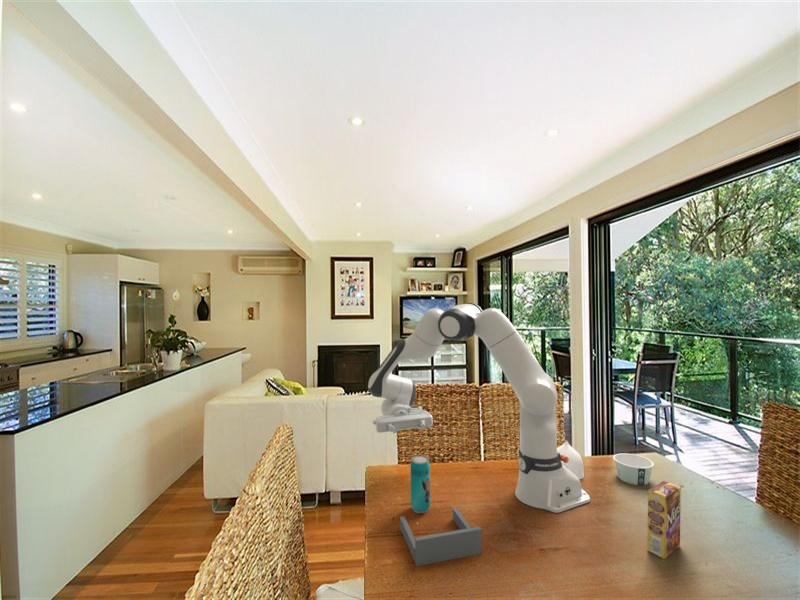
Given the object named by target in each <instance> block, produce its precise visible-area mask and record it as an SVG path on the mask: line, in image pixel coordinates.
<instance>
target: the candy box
mask: <svg viewBox="0 0 800 600" xmlns="http://www.w3.org/2000/svg"><path fill="white" fill-rule="evenodd" d="M647 491H648V492H647V530H646V531H647V533H646V534H647V538H646V539H647V542H646V550H647V552H650V553H651V554H654V555H656V556H657V557H659V558H661V559H663V560H665V559H667V557H669V556H670V555H671V554H672V553H673V552H675V551H676V550H677V549H678V548H679V546H680V547H681V500H682V499H681V498H682V497H681V495H682V494H681V493H682V487H681V486H680V485H677V484H674V483H672V482H668V481H665V480H663V481H661V482H660V483H658V484H656V485H654V486H653V487H652V488H649V489H648V490H647Z"/></svg>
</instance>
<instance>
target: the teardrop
mask: <svg viewBox="0 0 800 600" xmlns="http://www.w3.org/2000/svg"><path fill="white" fill-rule="evenodd" d="M557 452H558V453H560V455H565V456H567V457H568V458H569V461H568V463H564V462H563V461H561V462H562V465H564V466H565V467H566V468H567V469H569V470H570V471H571V472H572V473H574V474H575V475H576V476H577V477H578V479H579V480H583V478H584V477H585V471H584V463H583V458H582V457H581V455H580V454H579V453H578V451H577V450H575V449H574V447H572V445H570V443H569V441H568V440H567V439H566V440H565V442H564V443H563V444H562V445H560V446H557Z"/></svg>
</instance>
